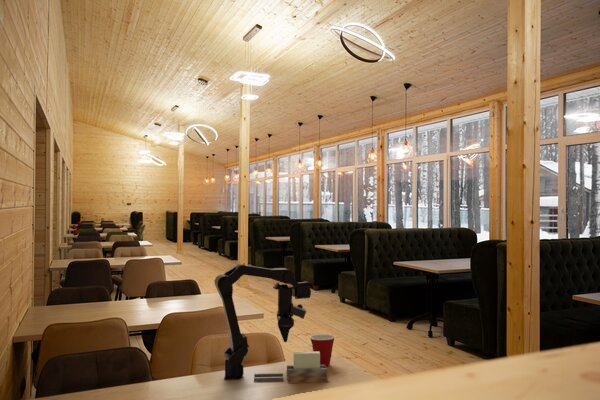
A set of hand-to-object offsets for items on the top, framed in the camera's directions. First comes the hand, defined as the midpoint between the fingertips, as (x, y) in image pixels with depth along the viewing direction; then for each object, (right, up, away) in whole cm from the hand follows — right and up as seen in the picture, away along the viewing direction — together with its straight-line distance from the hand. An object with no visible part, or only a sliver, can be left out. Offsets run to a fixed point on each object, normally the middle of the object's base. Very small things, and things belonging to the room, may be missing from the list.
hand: (284, 338), depth 182 cm
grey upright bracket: (-6, -12, -10) cm, 17 cm away
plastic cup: (+16, -13, +7) cm, 21 cm away
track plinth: (+9, -12, -9) cm, 17 cm away
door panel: (+9, -11, -9) cm, 16 cm away
